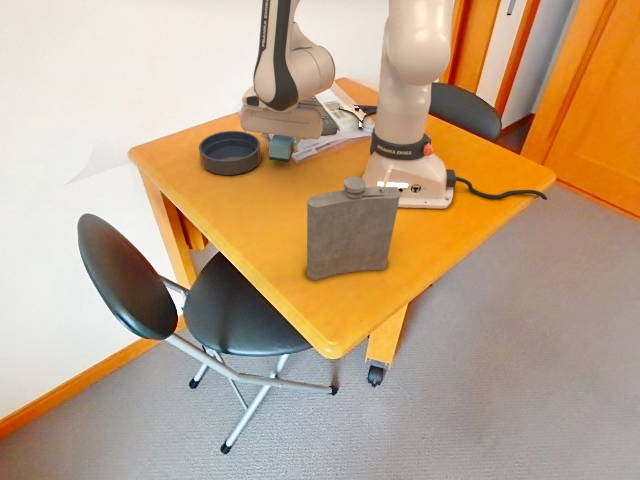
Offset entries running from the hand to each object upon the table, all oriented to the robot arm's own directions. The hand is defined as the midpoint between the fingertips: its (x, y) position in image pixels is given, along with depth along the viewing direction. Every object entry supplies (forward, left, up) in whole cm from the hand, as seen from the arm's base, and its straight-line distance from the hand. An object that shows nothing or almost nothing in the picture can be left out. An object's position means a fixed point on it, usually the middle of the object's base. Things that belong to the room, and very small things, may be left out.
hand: (282, 148), depth 103 cm
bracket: (-17, -31, -4) cm, 35 cm away
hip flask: (-23, +34, -4) cm, 41 cm away
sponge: (0, 0, -2) cm, 2 cm away
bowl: (+13, +2, -4) cm, 14 cm away
